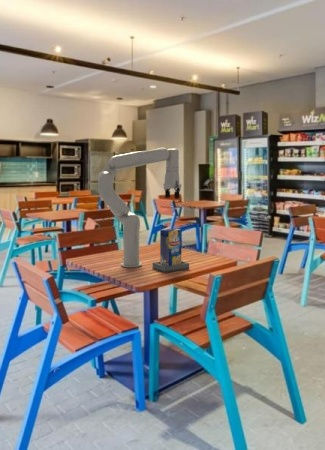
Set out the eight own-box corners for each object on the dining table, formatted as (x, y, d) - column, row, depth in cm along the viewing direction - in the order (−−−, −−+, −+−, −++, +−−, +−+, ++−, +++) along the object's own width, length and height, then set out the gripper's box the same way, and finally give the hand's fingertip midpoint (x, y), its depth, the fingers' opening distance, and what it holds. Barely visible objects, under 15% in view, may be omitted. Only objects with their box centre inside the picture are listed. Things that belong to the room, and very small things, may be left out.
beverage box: (181, 266, 248) (181, 229, 245) (168, 269, 240) (169, 231, 237) (172, 264, 252) (172, 228, 249) (160, 267, 244) (160, 230, 241)
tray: (152, 268, 247) (152, 262, 246) (176, 264, 256) (176, 259, 256) (164, 272, 236) (164, 266, 236) (189, 269, 245) (189, 263, 245)
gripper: (159, 169, 259) (159, 197, 261) (175, 169, 244) (175, 199, 247) (169, 169, 263) (169, 197, 265) (185, 169, 249) (185, 198, 251)
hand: (172, 198), depth 256 cm, fingers open, 9 cm apart
